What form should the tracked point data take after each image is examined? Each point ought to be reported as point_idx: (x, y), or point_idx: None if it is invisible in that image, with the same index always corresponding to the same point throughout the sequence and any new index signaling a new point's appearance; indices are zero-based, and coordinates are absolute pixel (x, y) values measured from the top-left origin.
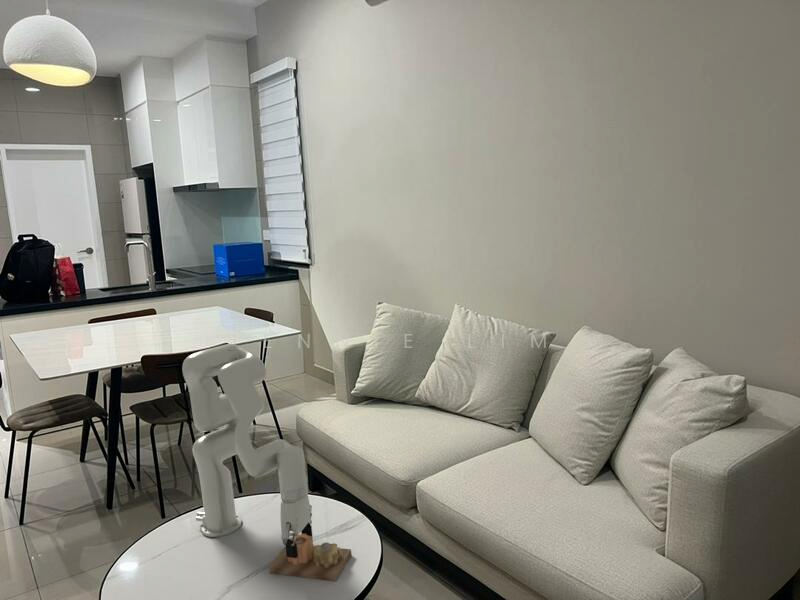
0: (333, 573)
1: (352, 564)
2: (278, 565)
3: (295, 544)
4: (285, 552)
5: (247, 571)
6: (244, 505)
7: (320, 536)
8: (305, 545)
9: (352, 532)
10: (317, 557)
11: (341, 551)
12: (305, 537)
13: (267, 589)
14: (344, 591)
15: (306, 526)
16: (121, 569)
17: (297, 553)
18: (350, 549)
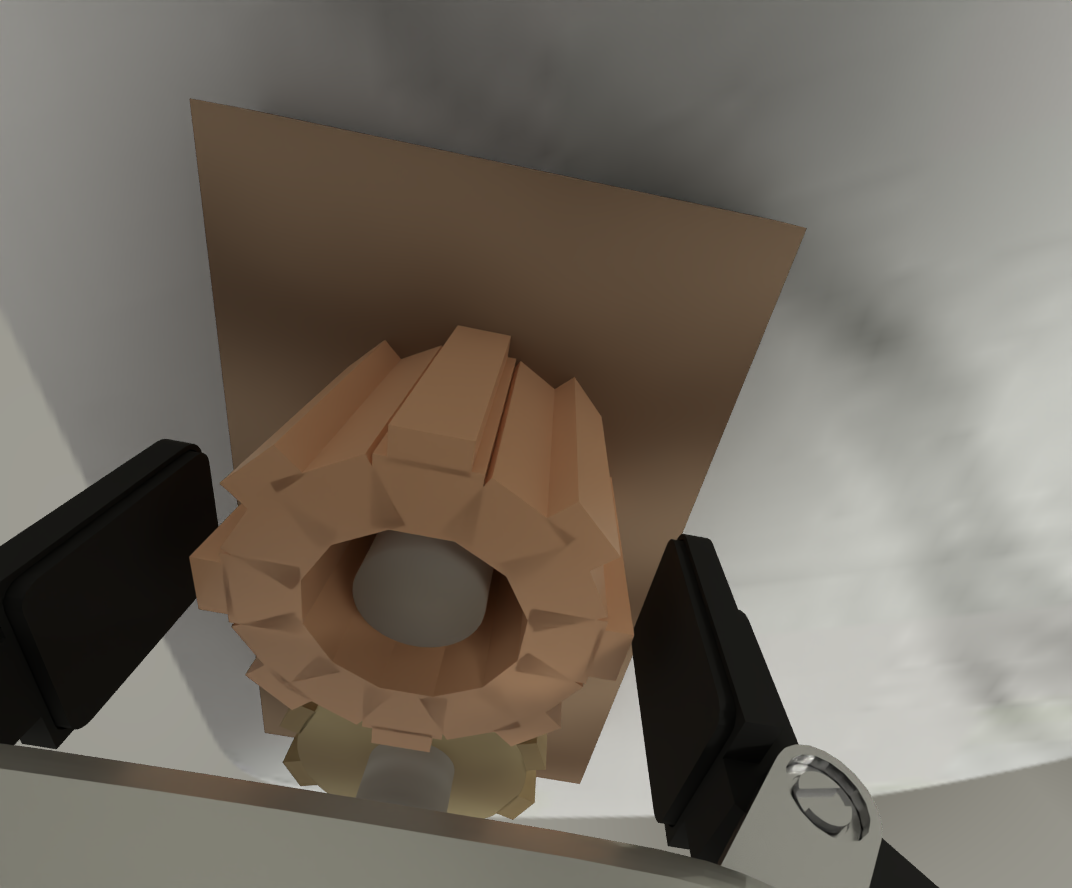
0: (273, 723)
1: None
2: (251, 247)
3: (30, 740)
4: (553, 257)
5: None
6: None
7: (945, 506)
8: (320, 695)
9: (907, 711)
10: (284, 717)
11: (554, 740)
12: (510, 679)
13: (2, 186)
14: (222, 721)
15: (678, 791)
16: None
17: (182, 604)
18: (577, 781)
